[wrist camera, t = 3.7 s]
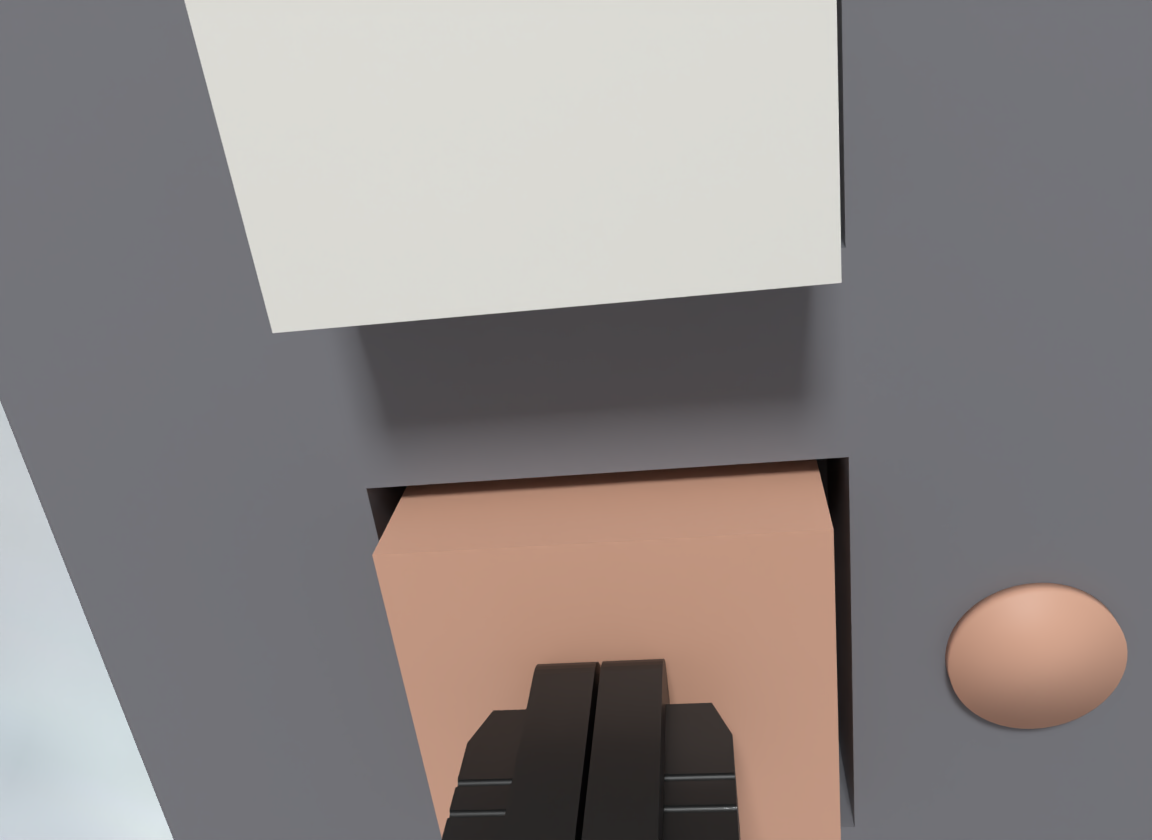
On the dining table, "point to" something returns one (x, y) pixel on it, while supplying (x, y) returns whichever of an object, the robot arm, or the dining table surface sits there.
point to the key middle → (524, 151)
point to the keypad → (614, 425)
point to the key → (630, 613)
